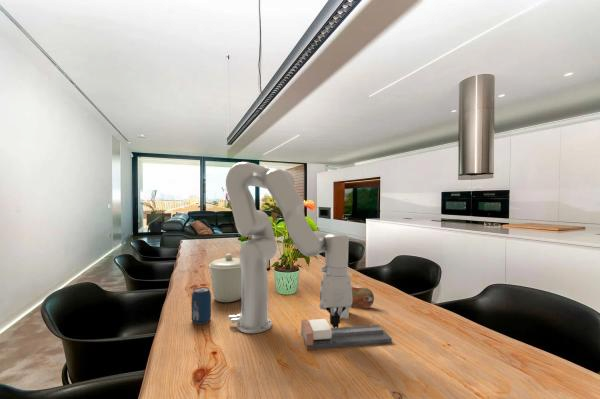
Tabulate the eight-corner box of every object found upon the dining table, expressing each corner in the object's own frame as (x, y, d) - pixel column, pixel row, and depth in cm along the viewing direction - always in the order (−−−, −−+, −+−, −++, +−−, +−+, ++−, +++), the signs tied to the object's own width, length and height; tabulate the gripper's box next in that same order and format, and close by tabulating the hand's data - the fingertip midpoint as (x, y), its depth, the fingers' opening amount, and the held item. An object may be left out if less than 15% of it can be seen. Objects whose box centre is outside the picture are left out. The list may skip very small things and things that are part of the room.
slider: (313, 342, 87) (313, 330, 87) (308, 330, 95) (308, 319, 95) (331, 340, 88) (331, 329, 88) (325, 328, 96) (325, 318, 96)
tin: (338, 304, 123) (338, 285, 123) (340, 302, 126) (340, 283, 126) (373, 310, 117) (373, 290, 117) (374, 307, 120) (374, 287, 120)
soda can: (211, 316, 110) (211, 286, 110) (210, 324, 103) (210, 291, 103) (192, 318, 108) (193, 287, 108) (190, 326, 101) (190, 293, 101)
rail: (306, 350, 86) (306, 333, 86) (301, 334, 96) (301, 319, 96) (391, 343, 90) (391, 327, 90) (378, 328, 100) (378, 315, 100)
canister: (244, 290, 141) (245, 249, 141) (251, 303, 124) (251, 256, 124) (207, 294, 135) (207, 251, 135) (209, 308, 118) (209, 258, 118)
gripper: (316, 274, 87) (315, 332, 88) (361, 273, 90) (360, 330, 90) (312, 268, 95) (310, 321, 95) (353, 267, 97) (352, 319, 97)
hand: (334, 325), depth 92 cm, fingers closed
